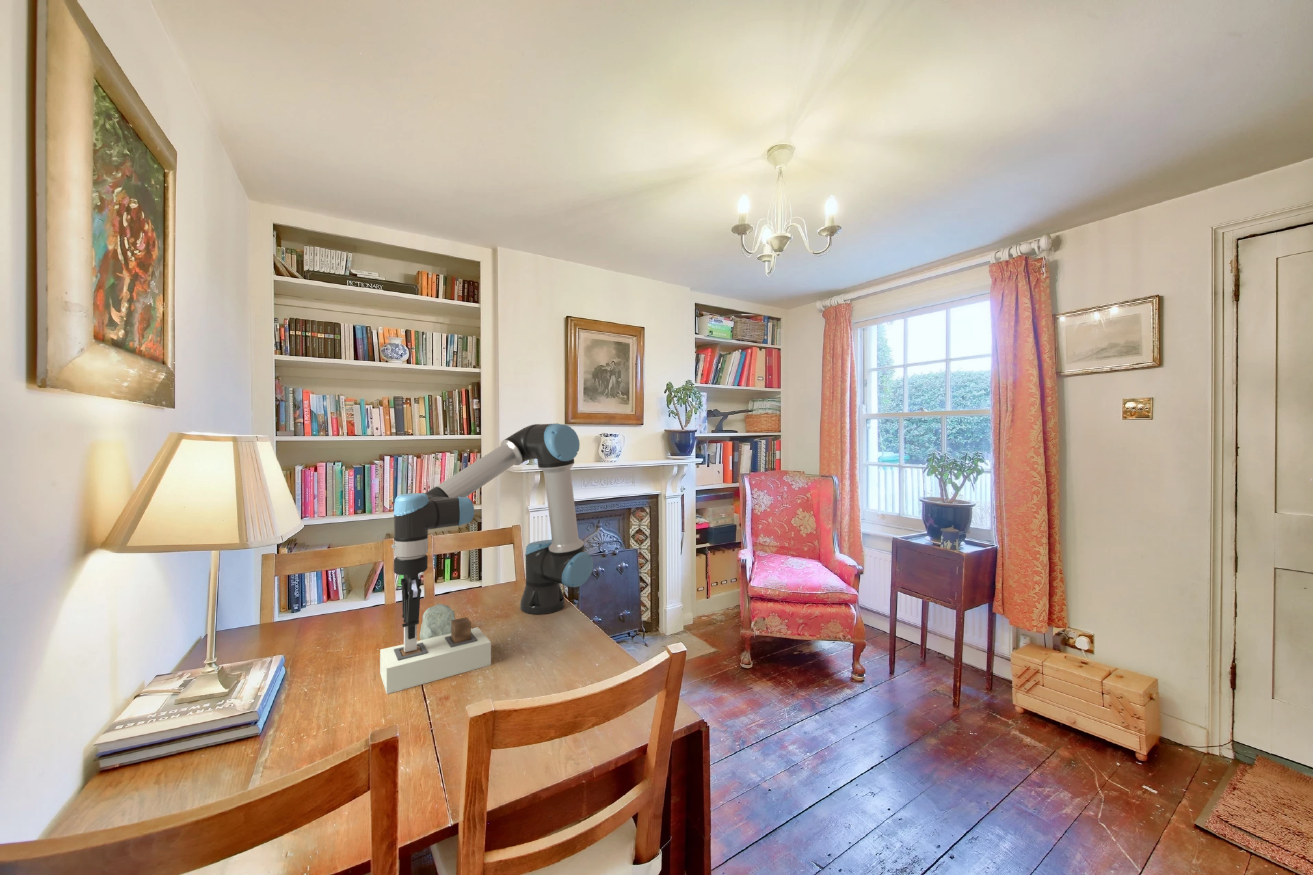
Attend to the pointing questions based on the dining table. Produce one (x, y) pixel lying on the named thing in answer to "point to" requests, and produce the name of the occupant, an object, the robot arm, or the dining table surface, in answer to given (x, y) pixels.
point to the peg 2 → (460, 630)
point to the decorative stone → (436, 621)
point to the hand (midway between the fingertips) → (410, 649)
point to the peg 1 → (410, 652)
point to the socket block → (433, 660)
